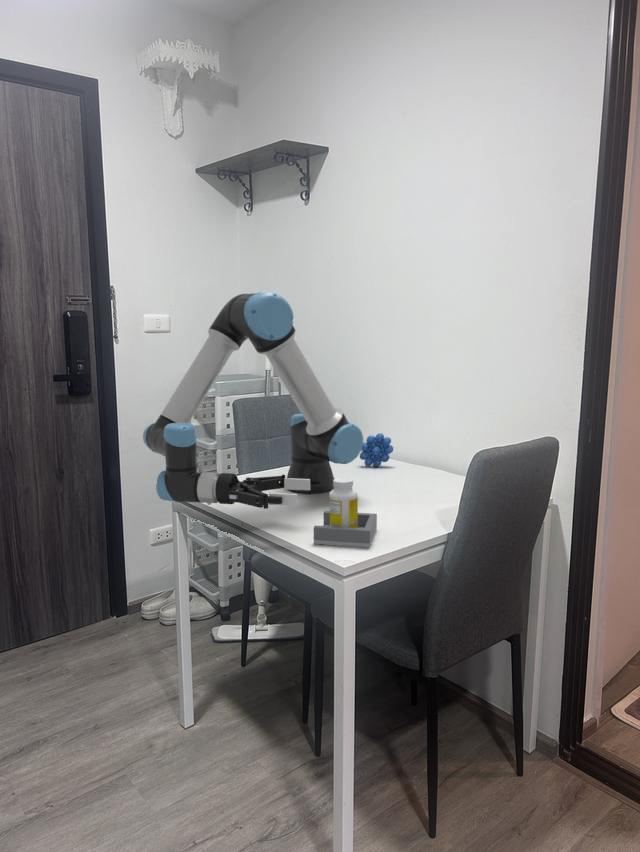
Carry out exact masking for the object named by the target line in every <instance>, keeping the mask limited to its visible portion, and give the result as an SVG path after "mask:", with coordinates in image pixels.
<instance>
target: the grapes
mask: <svg viewBox="0 0 640 852" xmlns="http://www.w3.org/2000/svg"><path fill="white" fill-rule="evenodd" d="M391 443H392V438H391V437H389V436H386V437H385V436H384V433H380V432H379V433H377V434H376V435H372V434H371V435H369V436H367V437H366V442H364V441H363V445H362V449H361V451H360V453H359V459H360V460H362V461H364V465H365V466H366V467H370V466H373V467H374V466H375V467H374V468H379V467H380V466H381V465H382V463H387V462H388V461H389V460H390V454H392V453H393V452H394V447H393V445H391ZM378 466H379V467H378Z"/></svg>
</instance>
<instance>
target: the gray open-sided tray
mask: <svg viewBox="0 0 640 852" xmlns="http://www.w3.org/2000/svg"><path fill="white" fill-rule="evenodd" d="M377 517H378V514H377V513H370V512H358V528H349V527H332V526H330V510H324V511H323V525H314V526H313V545H319V544H325V545H324V546H334V545H336V546H337V547H353V548H368V549H369V548H371V546H372V543H373V540H374V537H375V536H376V533H377V527H378V526H377V525H378V521H377V519H378V518H377ZM336 546H335V547H336Z"/></svg>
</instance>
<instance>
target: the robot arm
mask: <svg viewBox="0 0 640 852" xmlns="http://www.w3.org/2000/svg"><path fill="white" fill-rule="evenodd" d="M293 320H294V311H293V309H292V306H291V304H290V303H289V301H287V300H286V298H285V297H283V296H281V295H279V294H277V293H274V292H270V291H259V292H255V293H254V292H253V293H240V294H238V295H235V296H233V297H232V298H231V299H229V300H228V301H227V302H226V303H225V305H224V306H223V307H222V308H221V310H220V312H219V313H218V314H217V316H216V317H215V319H214V320H213V322H212V323H211V325H210V327H209V328H208V330H207V333H208V337H207V339H206V340H205V342H204V343H203V346H201V349H200V350H199V352H198V353H197V355H196V357H194V358H195V359H194V360H193V361H192V363H191V365H190V366H189V368H188V369H187V371H186V373H185V375H184V376H183V378H182V379H181V380H180V382H179V384H178V386H177V387H176V389H175V391H174V392H173V394H172V395H171V397H170V399H169V400H168V402H167V404H166V406H165V407H164V409H163V410H162V411H161V413H160V415H159V417H158V418H157V419H156V421H155V422H153V423H150V424H149V425H147V426H146V427H145V429H144V431H143V432H142V433H143V434H142V441H143V443H144V445H145V446H146V447H147V448H148V449H149V450H150V451H152V452H154V453H156V454H159V455H161V456H163V457H165V458H164V459H165V470H162V471H160V472H159V474H158V476H157V478H156V485H155V491H156V493H157V497H159V499H161V500H162V501H169V502H175V503H201V504H202V503H206V504H207V506H210V505H211V504H218V503H219V504H220V505H221V504H222V505H234V504H235V503H240V504H242V505H243V504H244V505H246V506H250V507H256V508H260V509H262V508H263V509H265V510H266V509H269V506H284V507H298V493H300V494H302V493H303V494H318V493H325V492H331V491H332V490H333V489H334V485H333V480H334V479H336V478H335V477H334V474H333V473H334V472H333V470H332V467H331V463H332V464H338V465H339V464H340V465H347V464H350V463H351V462H354V461H355V460H356V458H358V456H360V453H361V452H362V450H361V449H362V445H363V443H364V435H363V432H362V430H361V429H360V427H359V426H357V425H356V424H354V423H350V422H349V421H348V419H347V417H346V415H345V413H344V412H343V410H342V409H341V408H338V407H335V406H333V404H332V401H331V400H330V399H329V397H328V394H327V393H326V392H325V389H324V388H323V386H322V384H321V383H320V381H319V380H318V378H317V376H316V375H315V373H314V371H313V369H312V367H311V365H310V364H309V362H308V361H307V358H306V357H305V355H304V353H303V351H302V350H301V349H300V347H299V345H298V344H297V342H296V340H295V335H296V328H295V327H294V322H293ZM248 339H249V341H250V343H251V344H252V346H253V347H254V349H255V351H256V352H257V354H260V355H265V356H266V358H267V359H268V361H269V362H270V364H271V366H272V367H273V369H274V370H275V371H274V372H275V373H276V374H277V376H278V377H279V379H280V381H281V382H282V384H283V386H284V387H285V389H286V391H287V393H288V394H289V395H290V397H291V399H292V400H293V401H294V404H295V405H296V406H297V409H298V410H299V412H300V413H295V414H293V415H292V416H291V417H290V424H289V428H290V465H289V468H288V471H287V475H285V474H281V475H274V476H262V477H261V476H260V477H259V476H258V477H248V476H247V477H245V479H243V480H242V481H240V480H239V478H238V476H237V474H236V473H232V472H231V473H229V472H228V473H227V472H222V473H220V472H209V471H205V472H204V471H203V472H202V471H201V472H200V471H198V466H197V462H198V461H197V435H196V429H195V426H194V425H193V424H192V423H190V422H191V420H192V419H193V417H194V415H195V414H196V412H197V411H198V409H199V408H200V406H201V404H202V403H203V401H204V399H206V396H207V395H208V393H209V392H210V390H211V388H212V386H213V385H214V383H215V382H216V380H217V378H218V376H219V374H220V373H221V372H222V371H223V368H224V367H225V365H226V364H227V362H228V360H229V359H230V357H231V355H232V354H233V352H236V351H239V350H240V348H241V346H242V345H243V344H244V342H245V341H246V340H248ZM330 462H331V463H330ZM286 476H287V477H286ZM277 489H284V490H288V491H291V492H295V493H283V492H269V493H265V492H266V491H272V490H277ZM264 491H265V492H264Z"/></svg>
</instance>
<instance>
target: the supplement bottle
mask: <svg viewBox="0 0 640 852" xmlns="http://www.w3.org/2000/svg"><path fill="white" fill-rule="evenodd" d="M333 485H334V489H332V490H330V491H329V493H328V494H329V495H328V496H329V501H328V502H329V511H330V526H332V527H349V528H358V513H359V512H358V511H359V510H358V507H359V506H358V505H359V504H358V492H357V491H356V490H355V489H354V488H353V486H354V479H353V478H349V477H337V478H335V479H334V480H333Z"/></svg>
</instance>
